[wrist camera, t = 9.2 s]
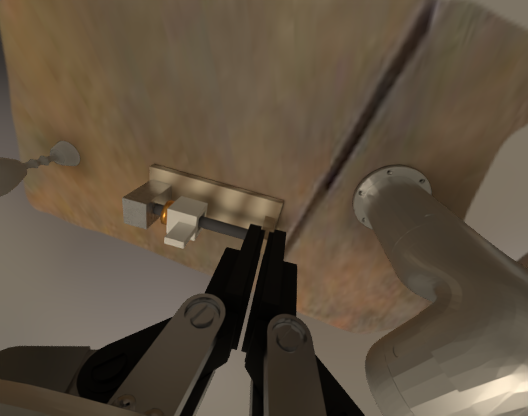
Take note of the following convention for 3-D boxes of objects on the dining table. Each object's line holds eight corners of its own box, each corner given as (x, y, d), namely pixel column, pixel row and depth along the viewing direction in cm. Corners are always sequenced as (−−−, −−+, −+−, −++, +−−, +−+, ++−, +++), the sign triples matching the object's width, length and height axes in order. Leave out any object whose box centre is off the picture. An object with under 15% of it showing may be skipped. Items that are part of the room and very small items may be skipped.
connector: (186, 188, 44) (164, 209, 37) (185, 210, 47) (163, 234, 39) (152, 179, 44) (122, 197, 37) (152, 201, 47) (124, 223, 39)
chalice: (43, 137, 45) (-95, 165, 29) (71, 132, 44) (-58, 157, 28) (64, 173, 48) (-50, 215, 32) (91, 169, 47) (-15, 210, 31)
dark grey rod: (261, 230, 41) (259, 236, 39) (259, 239, 42) (257, 245, 40) (148, 198, 41) (141, 203, 39) (148, 208, 42) (142, 213, 40)
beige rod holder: (283, 200, 44) (279, 224, 36) (270, 240, 49) (264, 270, 41) (154, 164, 44) (122, 180, 36) (153, 207, 49) (125, 230, 41)
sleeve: (207, 203, 42) (184, 232, 33) (204, 225, 44) (182, 257, 36) (181, 195, 42) (151, 222, 33) (179, 218, 44) (151, 249, 36)
